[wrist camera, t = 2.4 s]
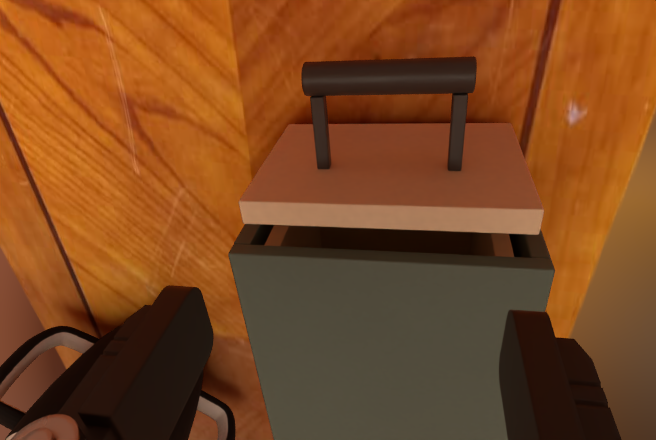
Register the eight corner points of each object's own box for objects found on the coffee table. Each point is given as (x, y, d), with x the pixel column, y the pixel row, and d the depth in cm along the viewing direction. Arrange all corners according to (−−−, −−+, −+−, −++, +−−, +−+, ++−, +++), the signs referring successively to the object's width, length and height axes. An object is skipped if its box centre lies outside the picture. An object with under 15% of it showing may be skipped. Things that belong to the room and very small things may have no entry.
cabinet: (287, 151, 29) (227, 253, 21) (514, 152, 27) (555, 270, 18) (311, 326, 38) (276, 450, 29) (485, 340, 35) (503, 481, 26)
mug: (46, 287, 41) (-73, 405, 31) (211, 287, 37) (134, 422, 28) (119, 402, 50) (43, 523, 40) (259, 411, 46) (213, 548, 36)
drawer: (277, 36, 25) (213, 89, 17) (525, 25, 22) (571, 81, 15) (312, 304, 35) (281, 407, 28) (482, 316, 33) (498, 432, 26)
